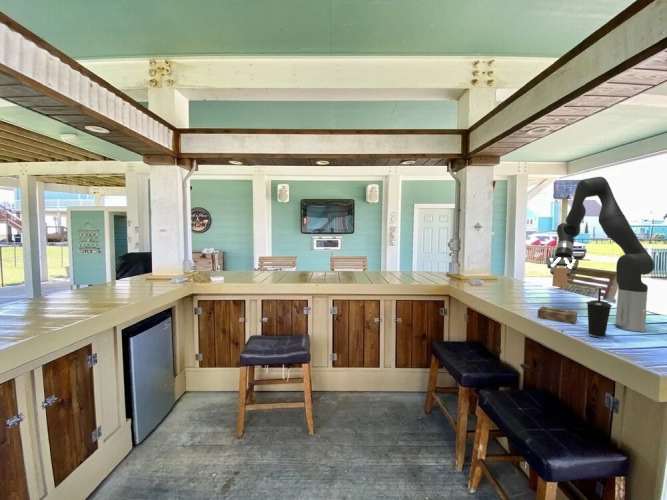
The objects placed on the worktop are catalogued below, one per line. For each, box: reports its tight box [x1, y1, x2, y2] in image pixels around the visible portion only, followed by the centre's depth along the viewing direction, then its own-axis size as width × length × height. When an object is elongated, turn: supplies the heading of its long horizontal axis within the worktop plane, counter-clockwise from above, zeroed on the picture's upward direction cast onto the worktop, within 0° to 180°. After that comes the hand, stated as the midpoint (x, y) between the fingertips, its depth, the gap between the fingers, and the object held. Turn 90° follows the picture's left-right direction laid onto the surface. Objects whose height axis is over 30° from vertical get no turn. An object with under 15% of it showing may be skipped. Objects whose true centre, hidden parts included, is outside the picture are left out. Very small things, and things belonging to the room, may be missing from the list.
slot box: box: [537, 305, 578, 325], centre depth 144 cm, size 14×10×5 cm
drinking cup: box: [586, 287, 613, 340], centre depth 122 cm, size 8×8×20 cm
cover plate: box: [551, 267, 568, 289], centre depth 161 cm, size 6×2×10 cm, turn 47°
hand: (559, 274), depth 159 cm, fingers closed on cover plate, 6 cm apart
